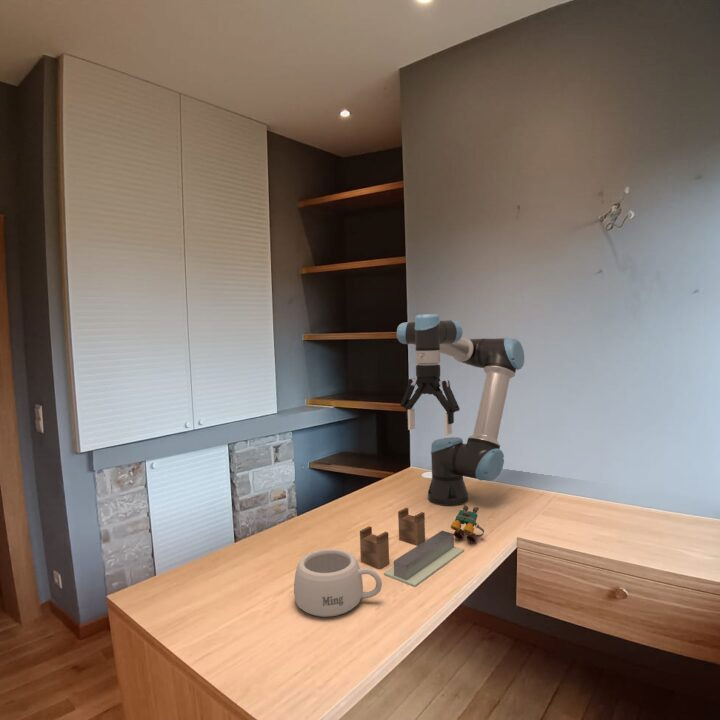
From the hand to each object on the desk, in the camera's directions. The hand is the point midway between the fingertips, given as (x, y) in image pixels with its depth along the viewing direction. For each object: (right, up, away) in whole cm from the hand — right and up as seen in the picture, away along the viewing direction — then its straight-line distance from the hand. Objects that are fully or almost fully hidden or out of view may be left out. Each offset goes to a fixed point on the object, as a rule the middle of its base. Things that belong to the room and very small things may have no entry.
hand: (429, 431), depth 151 cm
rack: (-12, -34, -9) cm, 37 cm away
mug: (-27, -36, -35) cm, 57 cm away
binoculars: (+11, -33, -4) cm, 35 cm away
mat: (-3, -34, -17) cm, 38 cm away
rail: (-3, -33, -17) cm, 38 cm away
